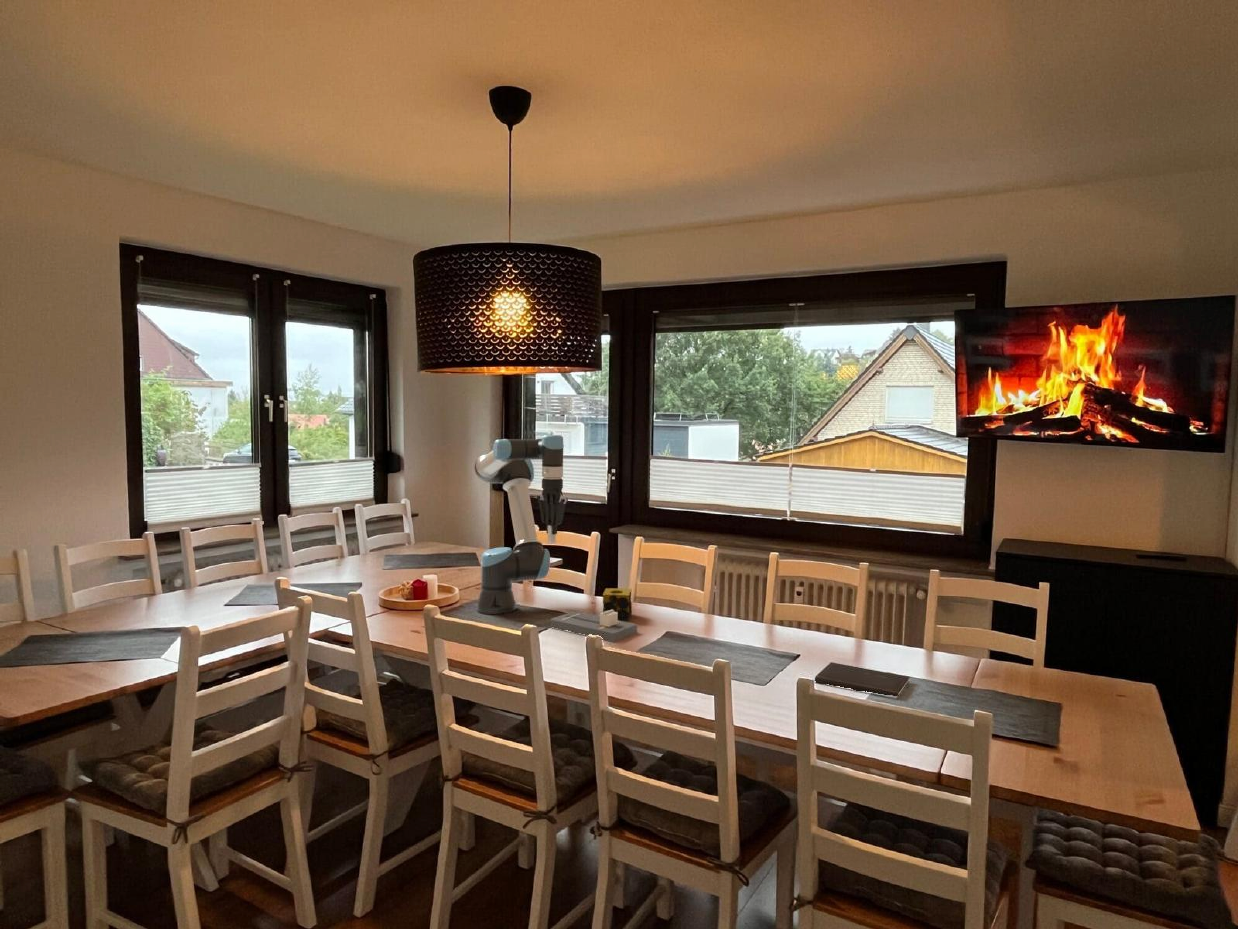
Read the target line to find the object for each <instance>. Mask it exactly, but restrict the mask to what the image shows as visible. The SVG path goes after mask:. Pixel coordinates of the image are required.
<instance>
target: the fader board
mask: <svg viewBox="0 0 1238 929" xmlns="http://www.w3.org/2000/svg"><path fill="white" fill-rule="evenodd" d="M550 627H554V628H558V629H561V630H560V631H563V630H568V631H571V632H574V633H573V634H576V633H581V634H585V637H587V636H586V635H589V634H592V635H599V636H601V637H602V638H603V639H604V640H603V641H606V642H607V641H608V642H611V643H616V642H619V641H621V640H623V639H625V638H627V637H630V636H633V635H635V634H638V624H637V623H632V622H629V621H619V620H617V624H615V625H612V626H610V627H608V626H603V625H600V615H595V614H590V613H586V612H585V613H584V612H580V611H575V610H574V611H571V612H568V613H564V614H562V615H558V616H555V617H552V618H550V619H549V628H550ZM554 628H553V629H554ZM558 629H557V630H558ZM571 632H570V633H571Z"/></svg>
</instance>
